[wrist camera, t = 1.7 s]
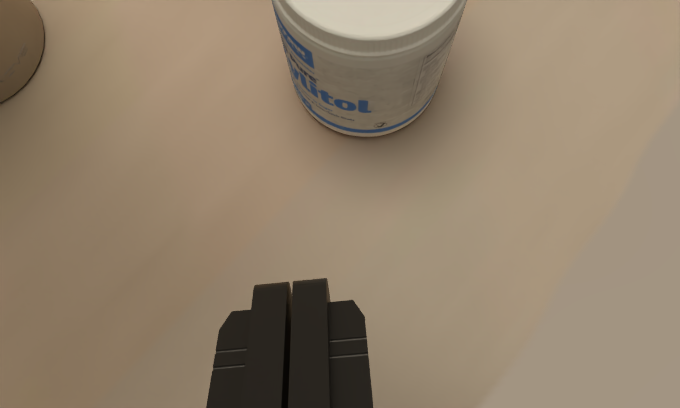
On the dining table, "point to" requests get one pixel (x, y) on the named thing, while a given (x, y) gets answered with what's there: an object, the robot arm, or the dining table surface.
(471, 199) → the dining table surface
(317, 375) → the robot arm
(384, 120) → the supplement tub
